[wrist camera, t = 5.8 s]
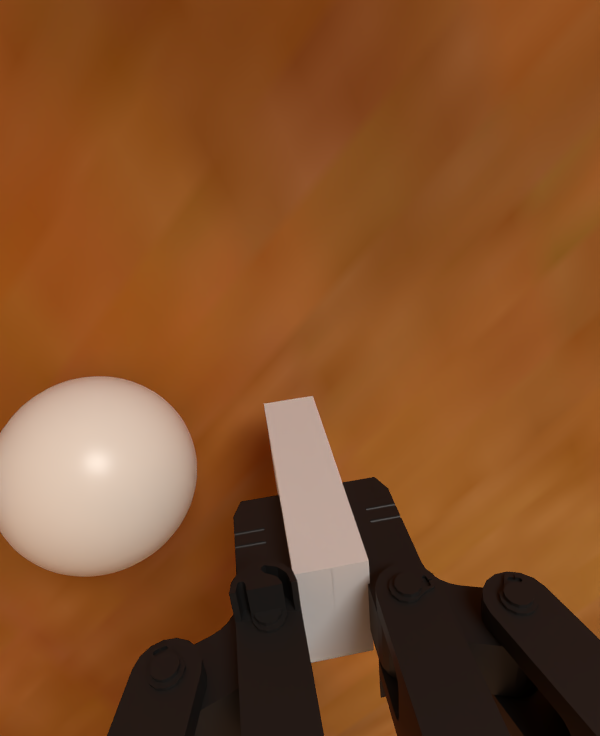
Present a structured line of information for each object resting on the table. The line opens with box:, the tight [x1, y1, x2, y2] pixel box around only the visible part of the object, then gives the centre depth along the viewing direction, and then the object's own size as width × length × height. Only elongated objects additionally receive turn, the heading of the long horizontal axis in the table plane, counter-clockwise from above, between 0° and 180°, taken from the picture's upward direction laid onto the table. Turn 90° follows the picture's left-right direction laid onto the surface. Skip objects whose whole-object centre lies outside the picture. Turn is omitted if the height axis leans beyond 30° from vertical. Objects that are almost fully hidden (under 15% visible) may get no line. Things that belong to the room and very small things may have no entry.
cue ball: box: [0, 376, 197, 577], centre depth 15 cm, size 6×6×6 cm
